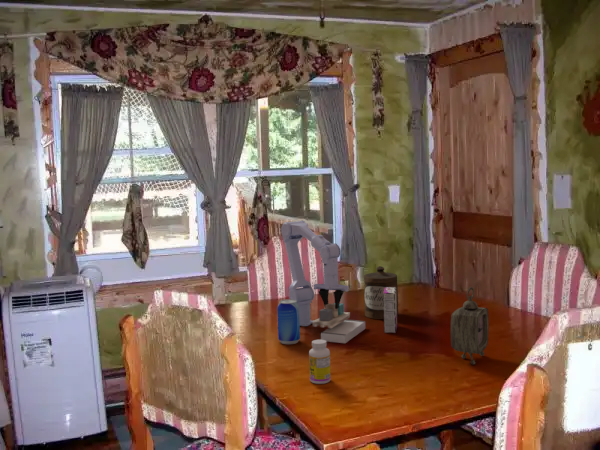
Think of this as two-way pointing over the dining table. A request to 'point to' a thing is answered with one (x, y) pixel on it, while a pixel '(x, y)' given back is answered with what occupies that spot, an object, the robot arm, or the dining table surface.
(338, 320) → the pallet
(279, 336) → the beer can
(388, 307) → the candy bar box
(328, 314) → the grey cube
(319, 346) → the supplement bottle
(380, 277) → the wooden container
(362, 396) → the dining table surface
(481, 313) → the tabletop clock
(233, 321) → the dining table surface
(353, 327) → the dock
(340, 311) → the block
